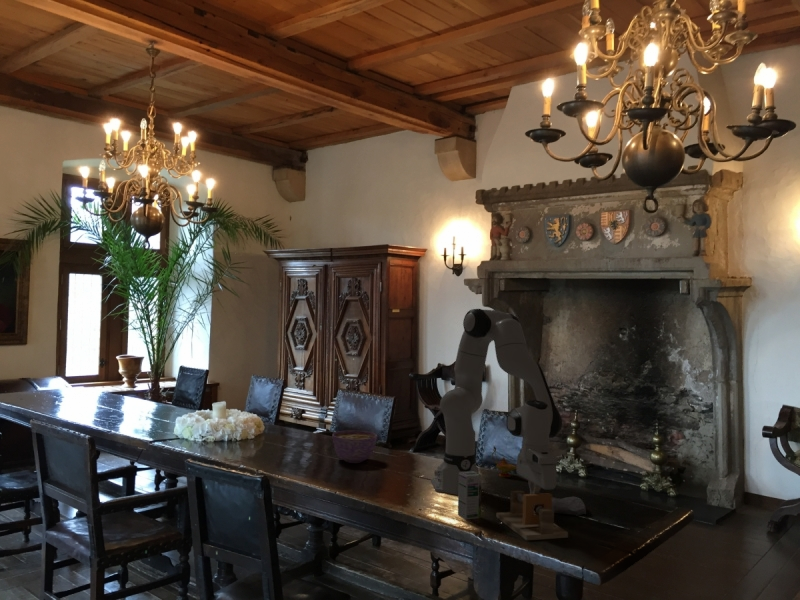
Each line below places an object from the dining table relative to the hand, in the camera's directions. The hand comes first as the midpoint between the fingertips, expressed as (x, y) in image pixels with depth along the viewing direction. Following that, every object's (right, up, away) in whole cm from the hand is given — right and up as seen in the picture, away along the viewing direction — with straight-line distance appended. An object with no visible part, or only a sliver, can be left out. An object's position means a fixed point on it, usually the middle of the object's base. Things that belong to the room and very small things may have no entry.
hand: (534, 496), depth 209 cm
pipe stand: (-1, -10, +1) cm, 10 cm away
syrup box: (-20, -10, +9) cm, 24 cm away
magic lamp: (+2, -11, +64) cm, 65 cm away
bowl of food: (-63, -9, +81) cm, 103 cm away
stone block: (+16, -12, +19) cm, 27 cm away
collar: (0, -8, -2) cm, 8 cm away
